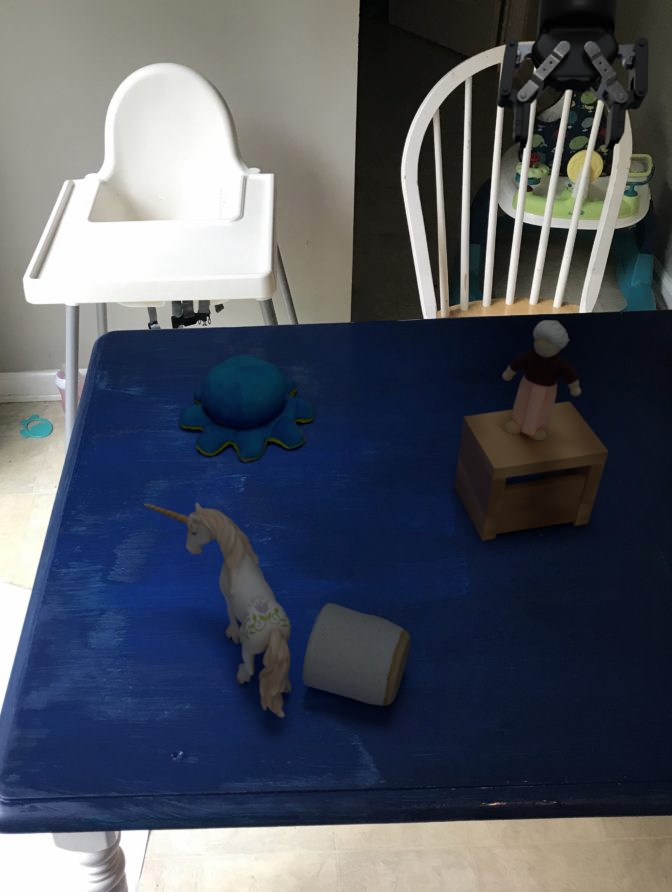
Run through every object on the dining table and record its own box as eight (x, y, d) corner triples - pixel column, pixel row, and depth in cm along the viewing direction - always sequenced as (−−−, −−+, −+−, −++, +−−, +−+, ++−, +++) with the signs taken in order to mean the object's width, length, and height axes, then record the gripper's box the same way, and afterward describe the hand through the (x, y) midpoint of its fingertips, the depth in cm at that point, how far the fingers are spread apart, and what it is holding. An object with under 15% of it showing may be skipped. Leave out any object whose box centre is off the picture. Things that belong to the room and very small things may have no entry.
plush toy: (162, 452, 102) (152, 395, 96) (205, 376, 114) (199, 322, 108) (294, 469, 98) (292, 411, 93) (324, 390, 110) (324, 334, 105)
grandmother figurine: (491, 435, 86) (508, 326, 77) (496, 414, 88) (514, 306, 80) (568, 448, 84) (595, 337, 75) (571, 426, 86) (597, 317, 78)
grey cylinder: (390, 727, 72) (395, 671, 67) (300, 702, 74) (299, 646, 69) (418, 637, 79) (424, 581, 74) (336, 616, 81) (337, 561, 76)
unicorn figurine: (223, 570, 87) (210, 471, 78) (340, 694, 75) (341, 594, 66) (163, 602, 84) (143, 503, 75) (275, 736, 72) (267, 637, 63)
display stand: (553, 472, 96) (570, 401, 90) (588, 524, 90) (608, 451, 83) (454, 487, 95) (463, 416, 88) (482, 541, 88) (494, 468, 82)
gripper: (642, 12, 87) (630, 164, 86) (502, 12, 89) (490, 161, 88) (664, -38, 79) (651, 128, 79) (511, -37, 81) (498, 125, 81)
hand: (566, 145), depth 83 cm, fingers open, 8 cm apart
